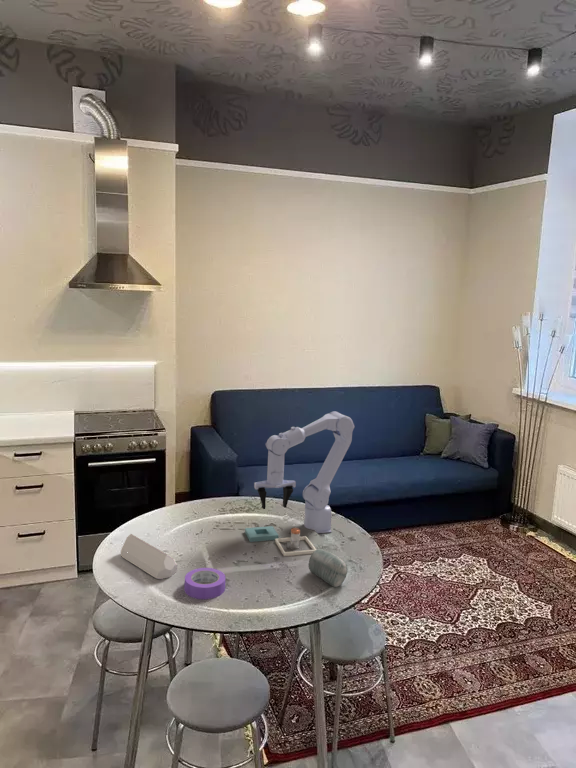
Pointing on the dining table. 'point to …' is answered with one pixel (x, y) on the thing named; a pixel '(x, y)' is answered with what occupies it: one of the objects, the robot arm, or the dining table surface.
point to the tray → (295, 551)
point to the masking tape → (204, 590)
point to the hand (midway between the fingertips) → (274, 507)
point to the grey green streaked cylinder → (328, 567)
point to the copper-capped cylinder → (295, 538)
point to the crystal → (148, 558)
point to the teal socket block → (261, 533)
